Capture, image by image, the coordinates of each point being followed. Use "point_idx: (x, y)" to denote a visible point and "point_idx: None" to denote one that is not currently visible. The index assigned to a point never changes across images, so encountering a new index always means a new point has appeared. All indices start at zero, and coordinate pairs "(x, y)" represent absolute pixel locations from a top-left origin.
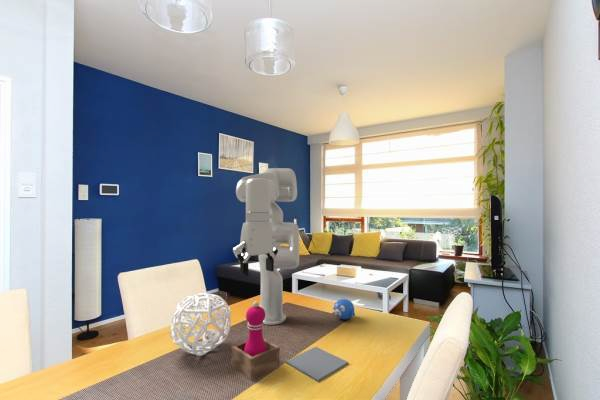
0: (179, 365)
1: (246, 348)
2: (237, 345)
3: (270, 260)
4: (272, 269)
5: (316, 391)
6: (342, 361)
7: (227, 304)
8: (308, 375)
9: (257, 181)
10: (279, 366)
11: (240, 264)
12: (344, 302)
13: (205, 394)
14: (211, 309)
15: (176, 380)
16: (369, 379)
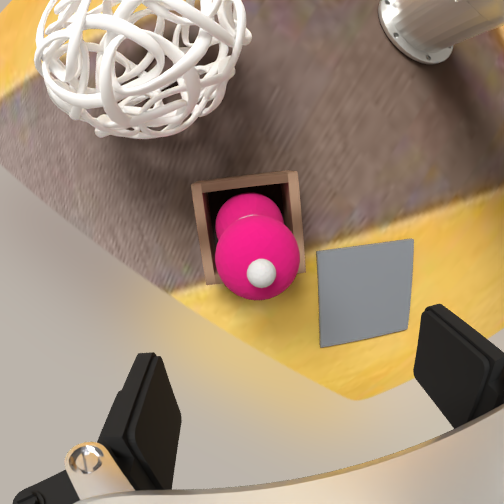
0: (97, 109)
1: (218, 232)
2: (208, 188)
3: (460, 416)
4: (424, 382)
5: (297, 363)
6: (402, 322)
7: (225, 39)
8: (319, 323)
9: None
10: None
11: (100, 442)
12: None
13: (113, 255)
14: (120, 93)
15: (77, 171)
16: (387, 377)
